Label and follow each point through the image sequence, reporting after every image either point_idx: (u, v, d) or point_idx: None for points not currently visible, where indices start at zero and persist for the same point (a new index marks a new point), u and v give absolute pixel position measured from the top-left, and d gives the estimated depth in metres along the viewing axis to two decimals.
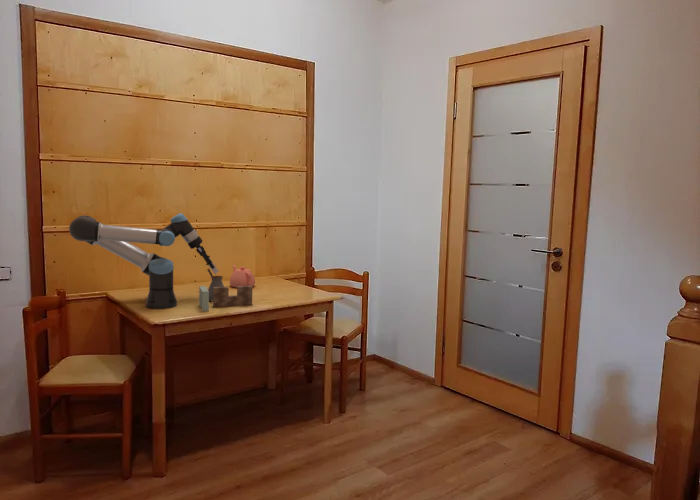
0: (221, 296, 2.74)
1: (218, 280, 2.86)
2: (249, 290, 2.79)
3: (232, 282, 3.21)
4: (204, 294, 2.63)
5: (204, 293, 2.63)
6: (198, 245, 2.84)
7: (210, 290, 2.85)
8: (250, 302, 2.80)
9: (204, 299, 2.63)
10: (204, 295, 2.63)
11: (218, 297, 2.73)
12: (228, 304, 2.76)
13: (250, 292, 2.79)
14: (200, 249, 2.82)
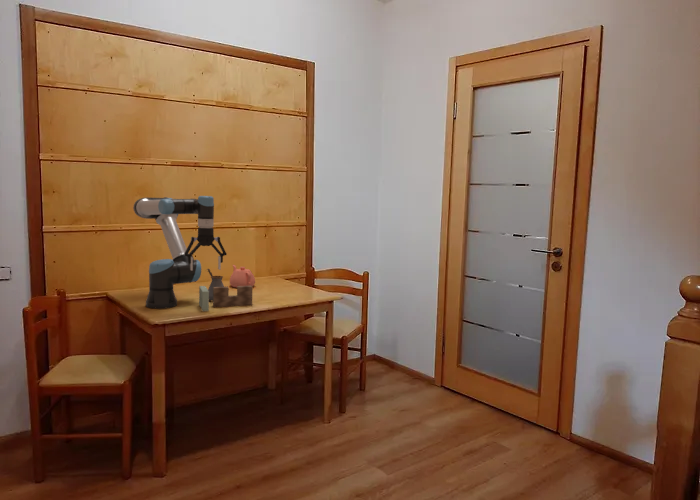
0: (221, 296, 2.74)
1: (218, 280, 2.86)
2: (249, 290, 2.79)
3: (232, 282, 3.21)
4: (204, 294, 2.63)
5: (204, 293, 2.63)
6: (198, 235, 2.60)
7: (210, 290, 2.85)
8: (250, 302, 2.80)
9: (204, 299, 2.63)
10: (204, 295, 2.63)
11: (218, 297, 2.73)
12: (228, 304, 2.76)
13: (250, 292, 2.79)
14: (191, 238, 2.59)
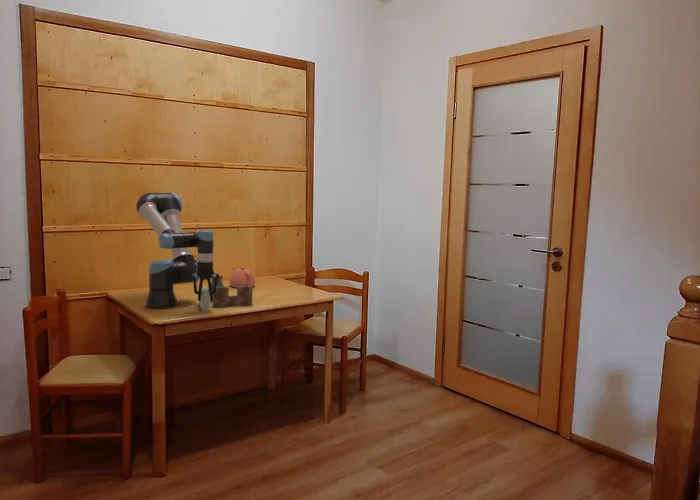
0: (221, 296, 2.74)
1: (218, 280, 2.86)
2: (249, 290, 2.79)
3: (232, 282, 3.21)
4: (204, 294, 2.63)
5: (204, 293, 2.63)
6: (197, 269, 2.62)
7: None
8: (250, 302, 2.80)
9: (204, 299, 2.63)
10: (204, 295, 2.63)
11: (218, 297, 2.73)
12: (228, 304, 2.76)
13: (250, 292, 2.79)
14: (192, 276, 2.62)
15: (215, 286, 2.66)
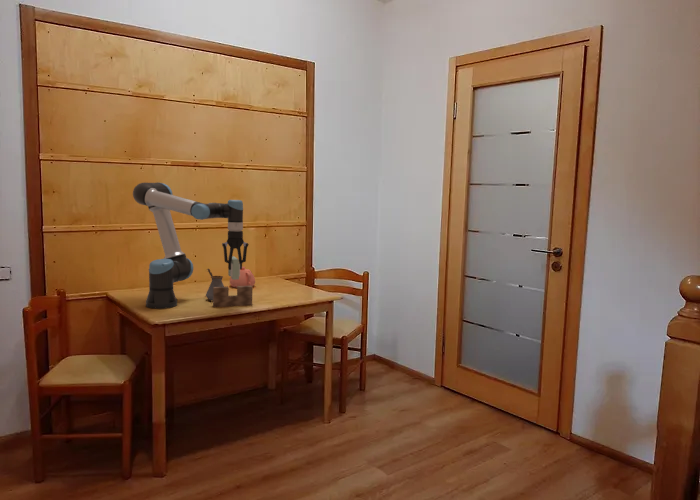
0: (221, 296, 2.74)
1: (218, 280, 2.86)
2: (249, 290, 2.79)
3: (232, 282, 3.21)
4: (234, 263, 2.68)
5: (234, 262, 2.68)
6: (228, 238, 2.67)
7: (210, 290, 2.85)
8: (250, 302, 2.80)
9: (234, 267, 2.69)
10: (234, 264, 2.68)
11: (218, 297, 2.73)
12: (228, 304, 2.76)
13: (250, 292, 2.79)
14: (222, 245, 2.67)
15: (245, 255, 2.71)
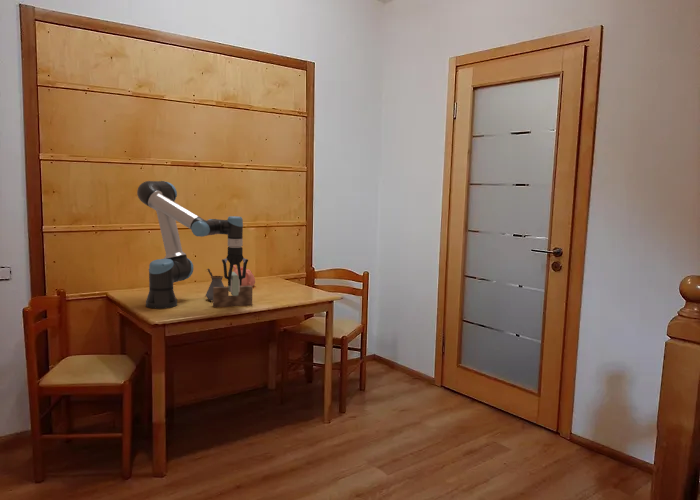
0: (221, 296, 2.74)
1: (218, 280, 2.86)
2: (249, 290, 2.79)
3: None
4: (234, 279, 2.70)
5: (234, 278, 2.69)
6: None
7: (210, 290, 2.85)
8: (250, 302, 2.80)
9: (234, 284, 2.70)
10: (234, 280, 2.70)
11: (218, 297, 2.73)
12: (228, 304, 2.76)
13: (250, 292, 2.79)
14: None
15: (244, 271, 2.72)
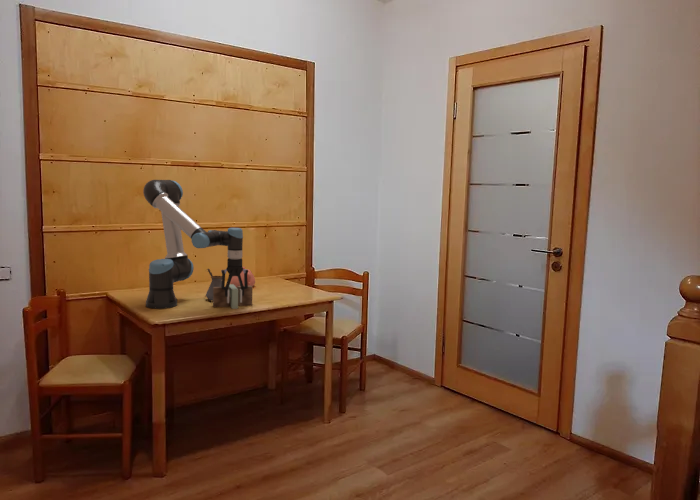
0: (221, 296, 2.74)
1: (218, 280, 2.86)
2: (249, 290, 2.79)
3: (232, 282, 3.21)
4: (234, 292, 2.70)
5: (234, 291, 2.70)
6: (227, 265, 2.69)
7: (210, 290, 2.85)
8: (250, 302, 2.80)
9: (234, 297, 2.71)
10: (234, 293, 2.71)
11: (218, 297, 2.73)
12: (228, 304, 2.76)
13: (250, 292, 2.79)
14: None
15: (246, 282, 2.73)
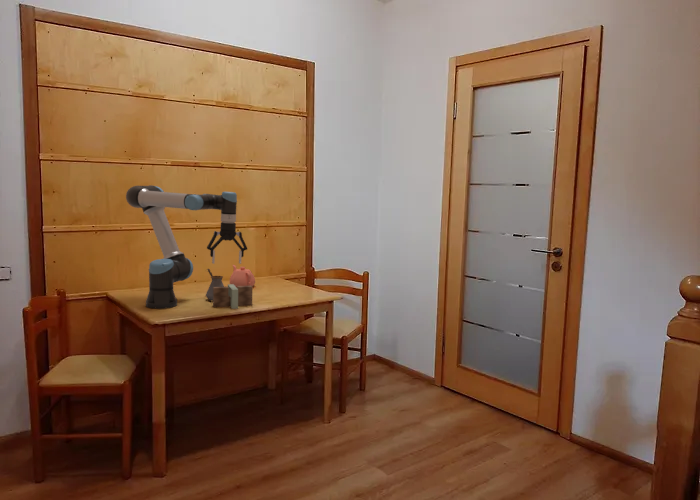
0: (221, 296, 2.74)
1: (218, 280, 2.86)
2: (249, 290, 2.79)
3: (232, 282, 3.21)
4: (234, 292, 2.70)
5: (234, 291, 2.70)
6: None
7: (210, 290, 2.85)
8: (250, 302, 2.80)
9: (234, 297, 2.71)
10: (234, 293, 2.71)
11: (218, 297, 2.73)
12: (228, 304, 2.76)
13: (250, 292, 2.79)
14: (214, 233, 2.68)
15: (244, 243, 2.73)
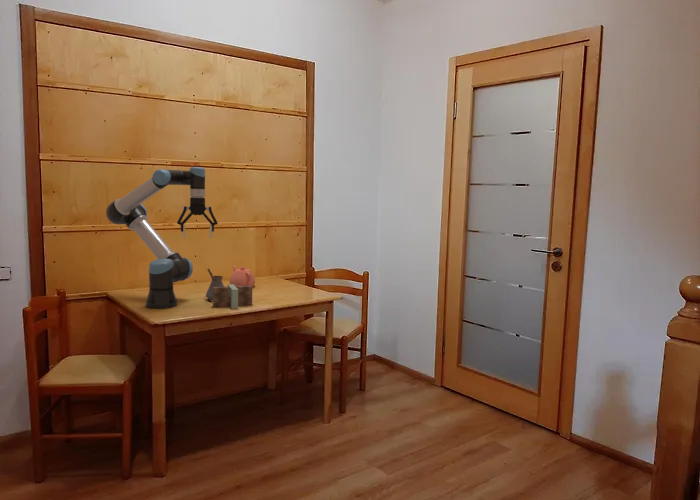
0: (221, 296, 2.74)
1: (218, 280, 2.86)
2: (249, 290, 2.79)
3: (232, 282, 3.21)
4: (234, 292, 2.70)
5: (234, 291, 2.70)
6: (190, 204, 2.72)
7: (210, 290, 2.85)
8: (250, 302, 2.80)
9: (234, 297, 2.71)
10: (234, 293, 2.71)
11: (218, 297, 2.73)
12: (228, 304, 2.76)
13: (250, 292, 2.79)
14: None
15: (214, 218, 2.77)
